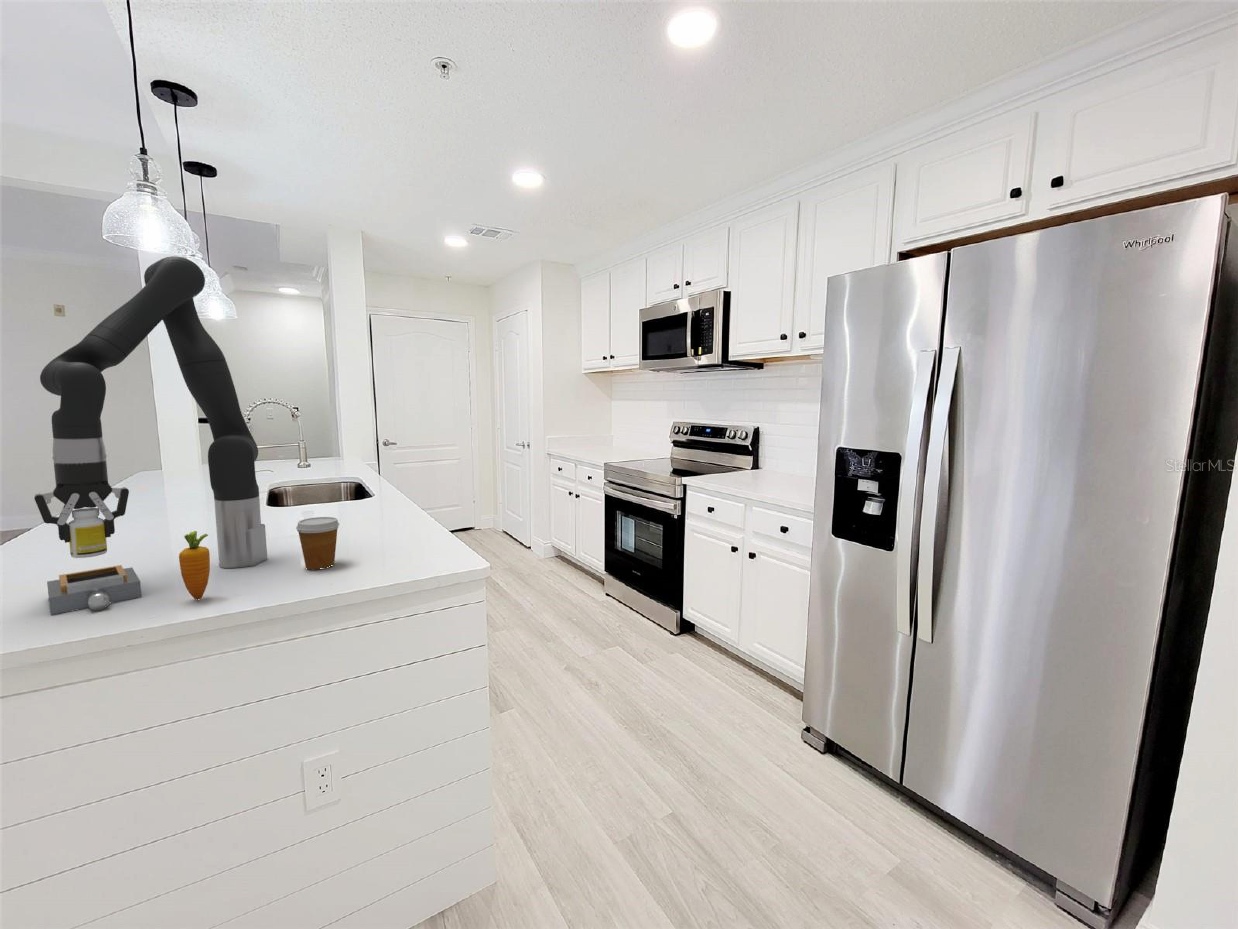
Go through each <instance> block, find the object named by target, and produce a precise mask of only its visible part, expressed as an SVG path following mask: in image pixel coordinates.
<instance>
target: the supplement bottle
mask: <svg viewBox="0 0 1238 929" xmlns="http://www.w3.org/2000/svg"><path fill="white" fill-rule="evenodd" d="M99 516H100V510H99V509H98V507H94V508H87V507H84V508H81V509H73V510H72V512H71V518H73V520H71V521H70V522H67V523H68V530H69V540H70V542H68V544H69V552H70V556H71V558H74V559H85V558H92V557H98V556H99V557H100V556H101V555H102V556H103V555H105V554H106V553H107V552H108V545H107V544H108V543H107V538H106V531H105V521H104V518H101V517H99Z"/></svg>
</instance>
